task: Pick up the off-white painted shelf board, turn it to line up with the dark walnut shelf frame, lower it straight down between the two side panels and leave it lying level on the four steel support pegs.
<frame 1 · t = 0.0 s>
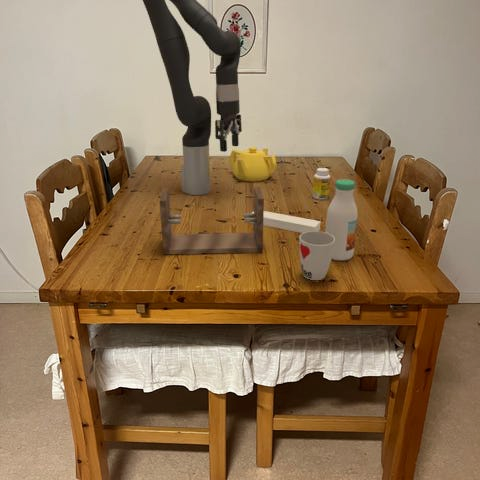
hand: (229, 148, 156), 17 cm above the table, tool pointing down, fingers open, 8 cm apart
shelf frame: (213, 245, 126), on the table
supplement bottle: (320, 198, 163), on the table
shelf board: (283, 227, 140), on the table
milk bottle: (338, 255, 122), on the table
cup: (314, 276, 111), on the table
teapot: (252, 177, 186), on the table
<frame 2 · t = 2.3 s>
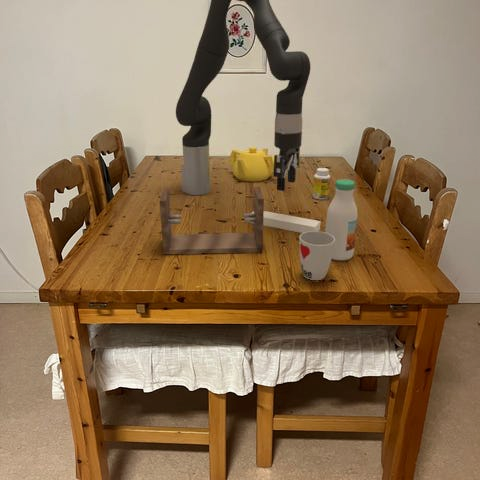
hand: (286, 186, 134), 12 cm above the table, tool pointing down, fingers open, 8 cm apart
nothing on the table moved.
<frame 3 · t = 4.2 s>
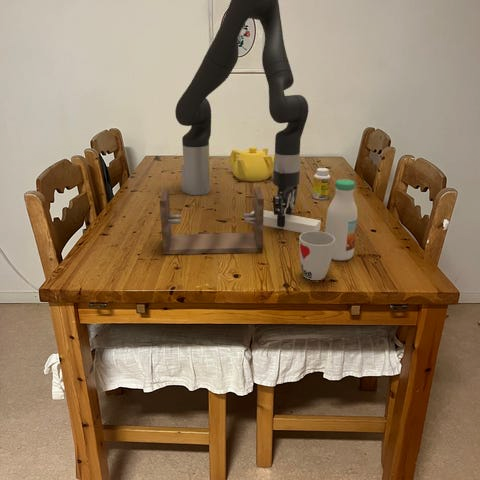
hand: (284, 223, 139), 1 cm above the table, tool pointing down, fingers closed on shelf board, 5 cm apart
shelf board: (284, 226, 140), on the table, touching gripper
everything else where it was.
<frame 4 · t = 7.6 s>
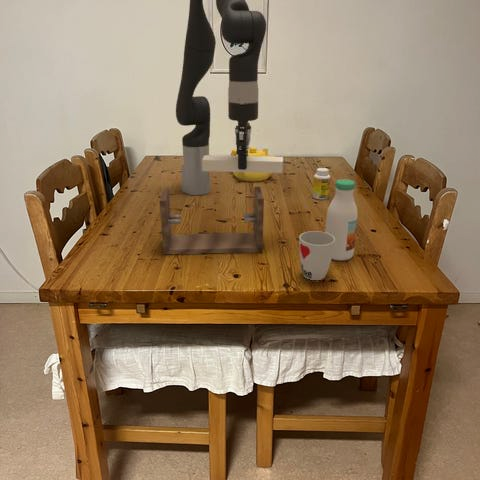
hand: (243, 166, 123), 21 cm above the table, tool pointing down, fingers closed on shelf board, 5 cm apart
shelf board: (242, 169, 123), point 20 cm above the table, touching gripper
everything else where it was.
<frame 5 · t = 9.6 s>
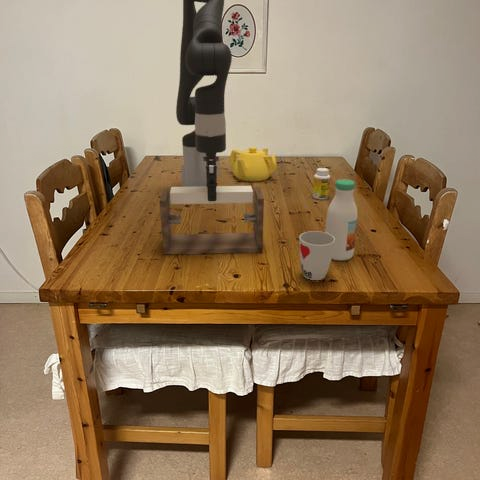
hand: (212, 196, 121), 14 cm above the table, tool pointing down, fingers closed on shelf board, 5 cm apart
shelf board: (211, 200, 121), point 13 cm above the table, touching gripper
everything else where it was.
when the fingers open (11 cm above the table, at t = 11.0 s): shelf board drops 1 cm, resting on shelf frame.
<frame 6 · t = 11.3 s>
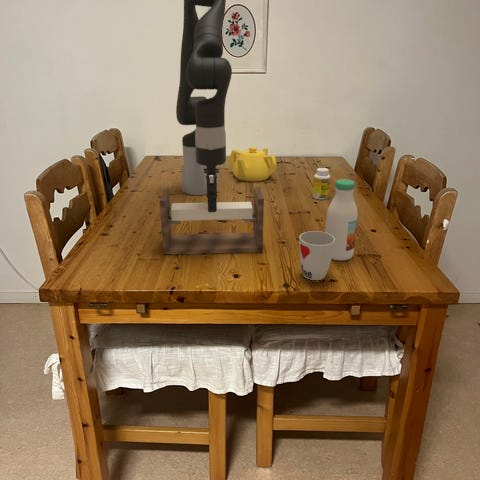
hand: (212, 206, 122), 11 cm above the table, tool pointing down, fingers open, 7 cm apart
shelf board: (212, 216, 123), point 9 cm above the table, touching shelf frame
everything else where it was.
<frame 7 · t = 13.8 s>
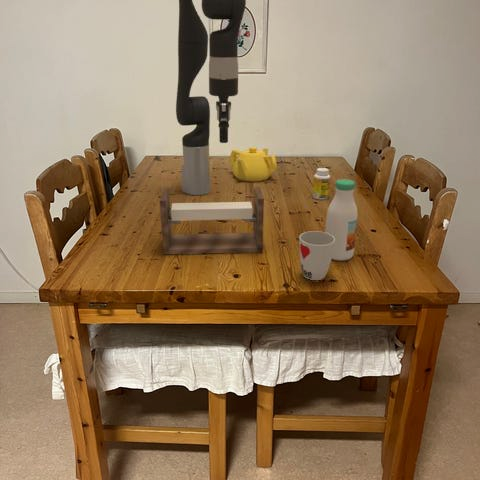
hand: (223, 138, 126), 27 cm above the table, tool pointing down, fingers open, 8 cm apart
nothing on the table moved.
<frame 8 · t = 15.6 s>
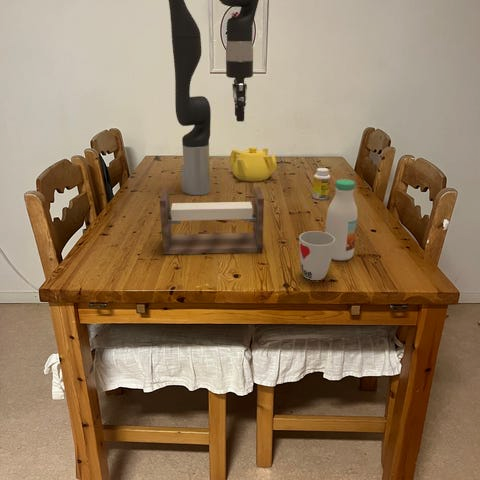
hand: (239, 118, 135), 30 cm above the table, tool pointing down, fingers open, 8 cm apart
nothing on the table moved.
at the end: shelf board 0.1 cm off-centre on the shelf frame, point 8.6 cm above the shelf frame's base; shelf board tilted 0°; shelf board touching shelf frame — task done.
